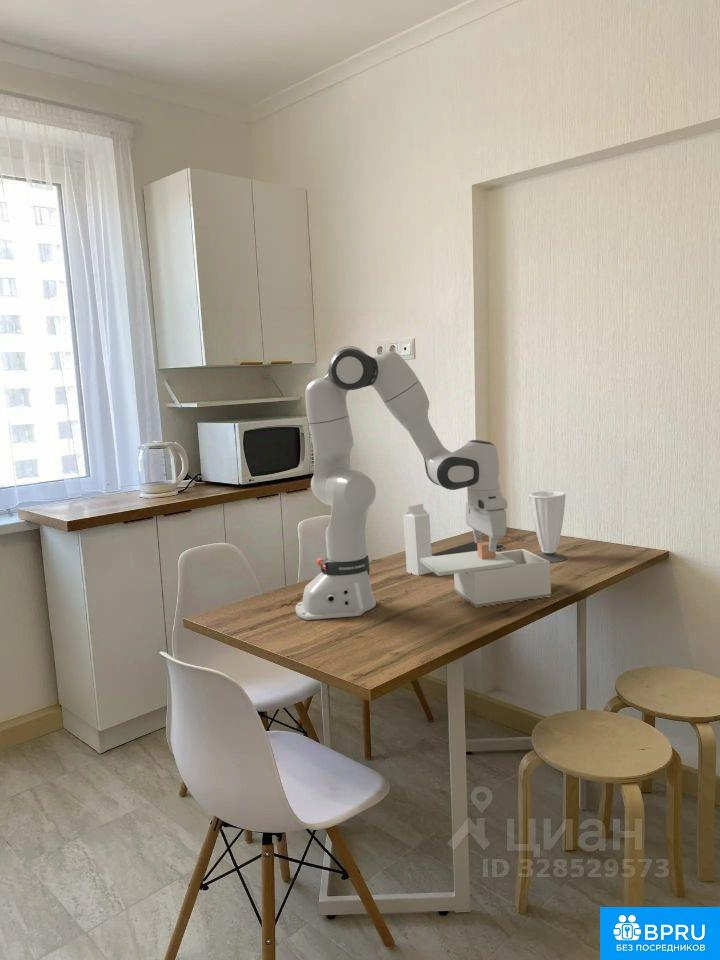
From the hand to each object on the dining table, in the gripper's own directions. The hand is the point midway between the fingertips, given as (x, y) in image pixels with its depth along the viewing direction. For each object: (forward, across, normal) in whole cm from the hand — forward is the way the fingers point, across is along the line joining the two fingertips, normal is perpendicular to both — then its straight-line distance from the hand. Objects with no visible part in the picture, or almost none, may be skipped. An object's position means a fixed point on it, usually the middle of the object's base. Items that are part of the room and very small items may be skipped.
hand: (485, 547), depth 198 cm
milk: (+14, -32, -10) cm, 36 cm away
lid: (+4, 0, -6) cm, 7 cm away
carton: (+14, 0, +4) cm, 15 cm away
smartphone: (+14, -48, +13) cm, 51 cm away
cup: (+14, -28, +34) cm, 47 cm away
